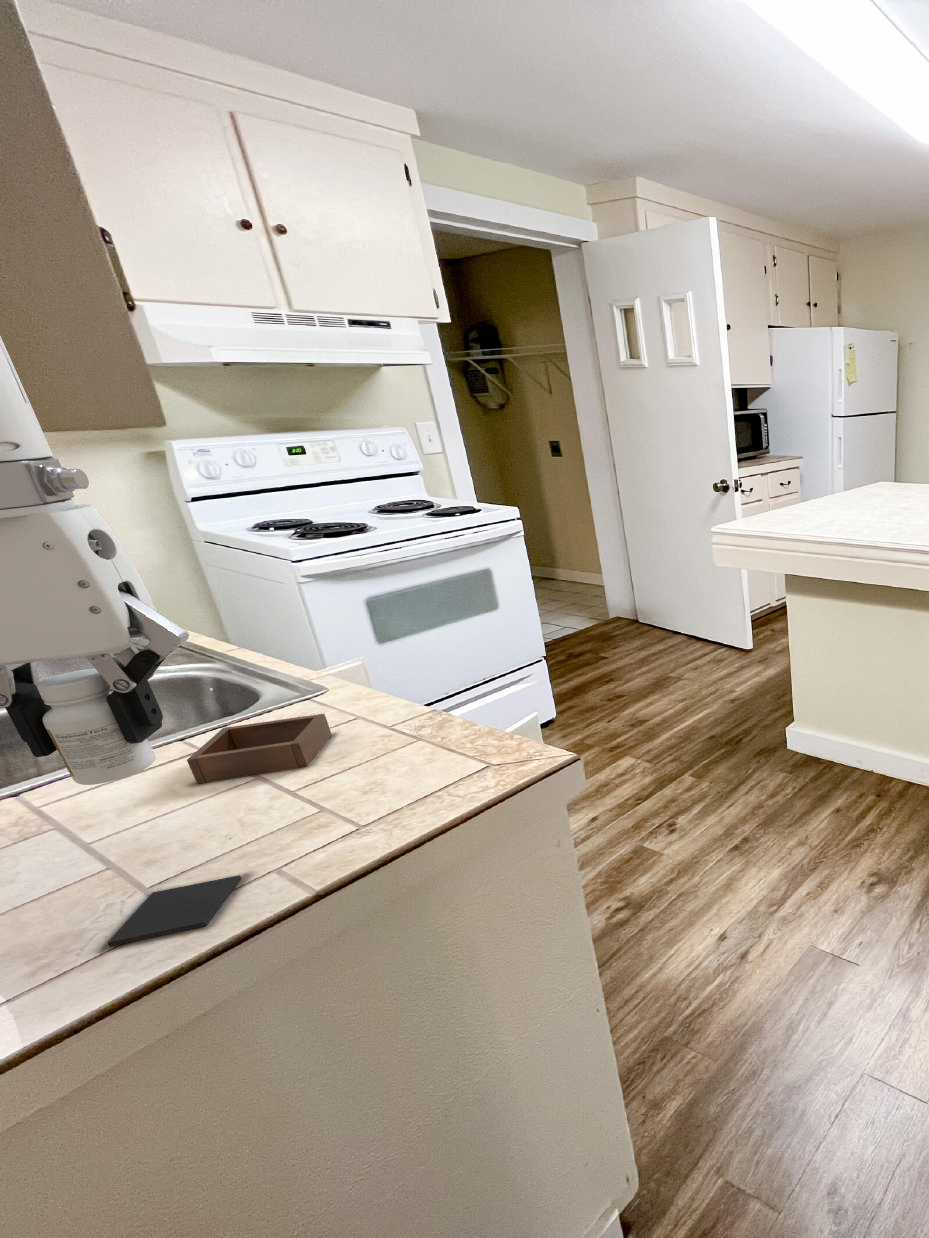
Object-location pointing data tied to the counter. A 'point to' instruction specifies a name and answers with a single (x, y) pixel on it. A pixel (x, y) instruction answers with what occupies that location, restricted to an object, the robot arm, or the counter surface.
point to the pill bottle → (89, 729)
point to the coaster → (176, 910)
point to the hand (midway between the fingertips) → (101, 739)
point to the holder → (260, 748)
